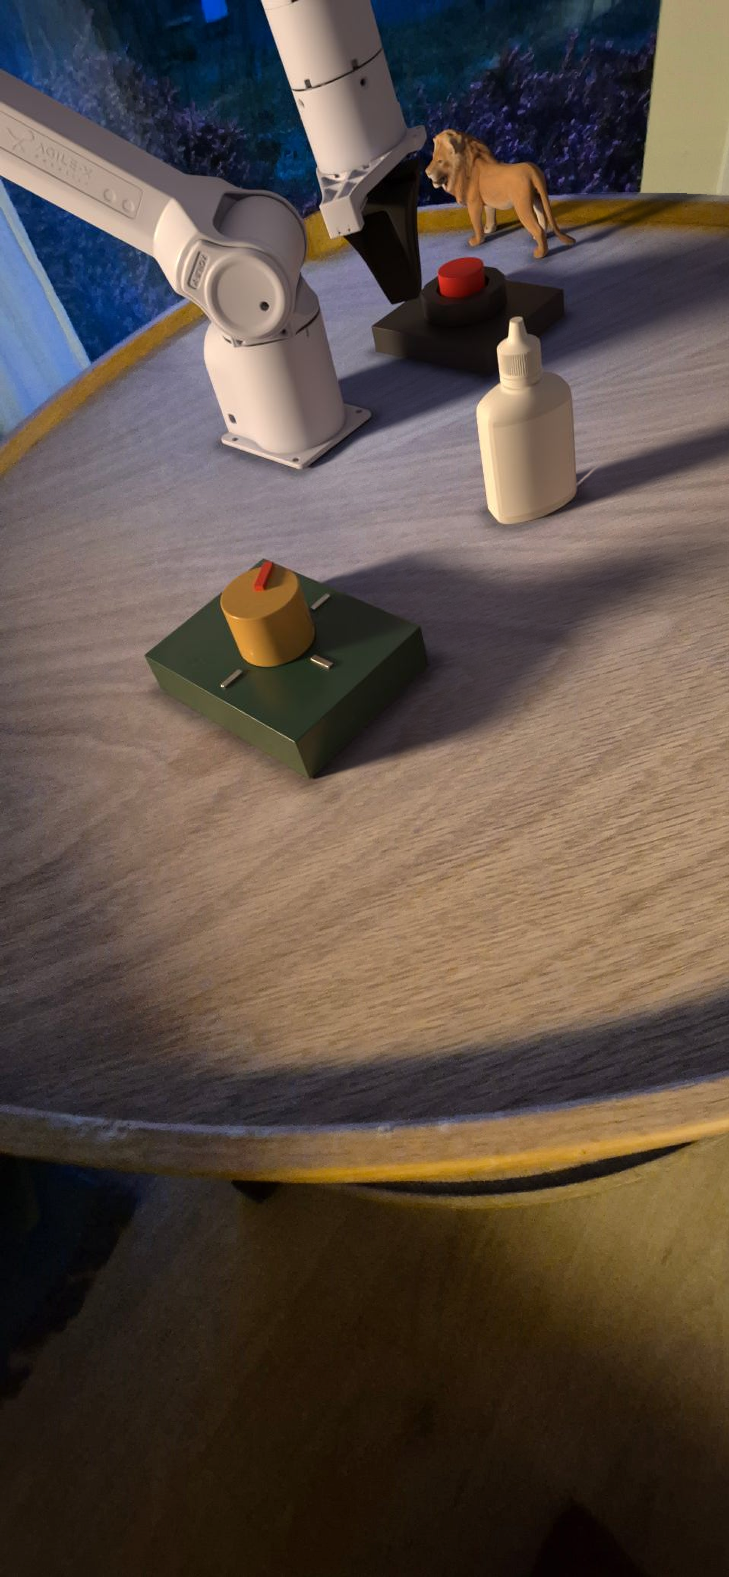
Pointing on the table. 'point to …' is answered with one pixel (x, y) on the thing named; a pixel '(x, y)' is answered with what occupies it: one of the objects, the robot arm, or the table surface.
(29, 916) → the table surface
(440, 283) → the red button
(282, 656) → the dial knob
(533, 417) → the eye dropper bottle
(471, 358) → the button box
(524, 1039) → the table surface
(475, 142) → the lion figurine
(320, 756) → the control panel
